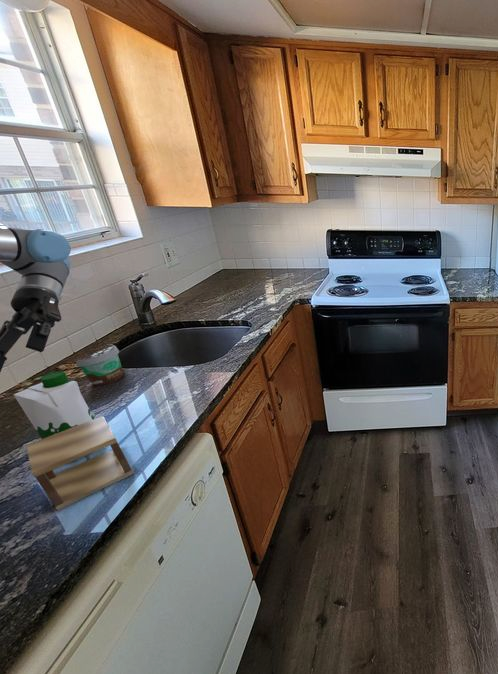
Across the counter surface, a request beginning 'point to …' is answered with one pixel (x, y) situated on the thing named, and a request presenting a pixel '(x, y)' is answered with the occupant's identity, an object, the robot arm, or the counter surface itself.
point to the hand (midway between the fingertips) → (11, 363)
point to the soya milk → (54, 404)
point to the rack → (84, 475)
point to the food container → (102, 366)
